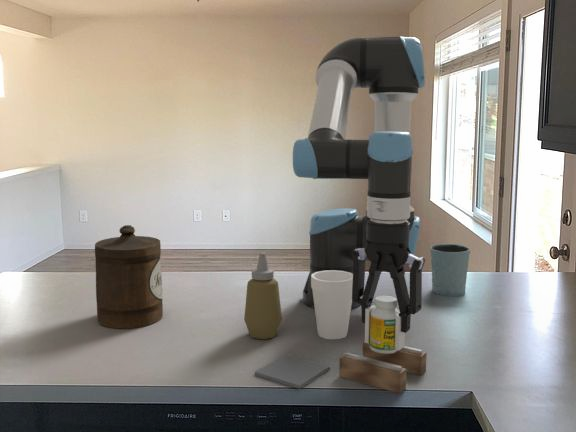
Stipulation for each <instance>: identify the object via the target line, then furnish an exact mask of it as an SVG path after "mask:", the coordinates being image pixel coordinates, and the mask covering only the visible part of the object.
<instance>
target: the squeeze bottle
mask: <svg viewBox="0 0 576 432" xmlns="http://www.w3.org/2000/svg"><path fill="white" fill-rule="evenodd" d="M268 263H269V262H268V259H267V255H266V253H265V252H261V253H259V257H258V261H257V265H256V268H254V269H252V270H251V278H250V279H249V280H248V281H247V286H246V293H245V294H246V295H245V307H244V318H243V319H244V323H245V326H246V328H247V332H248V334H249V336H250V337H251V338H253V339H258V340H259V339H260V340H266V339H272V338H274V337H276V336H277V333H278V330H279V329H280V324H281V323H282V319H283V317H282V316H283V315H282V308H281V307H282V305H281V297H280V288H279V287H280V286H279V282H278V280H276V279H275V278H274V277H275V276H274V274H275V273H274V271H275V270H274V269H272V268H270V267H269V264H268Z"/></svg>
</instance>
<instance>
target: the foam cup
mask: <svg viewBox="0 0 576 432" xmlns="http://www.w3.org/2000/svg"><path fill="white" fill-rule="evenodd" d="M352 284H353V274H352V273H350V272H345V271H337V270H326V271H319V272H315V273H313V274H312V275H311V288H312V291H313V299H314V307H315V308H314V307H313V308H314V314H315V319H316V320H315V322H316V329H317V330H316V331H317V335H318V336H319V337H320V338H322V339H326V340H340V339H344V338H346V337H347V335H348V330H349V324H350V317H351V313H352V312H351V310H352V308H351V305H352Z"/></svg>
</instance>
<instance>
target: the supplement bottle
mask: <svg viewBox="0 0 576 432" xmlns="http://www.w3.org/2000/svg"><path fill="white" fill-rule="evenodd" d="M374 305H375V306H376V307H375V308H374V309H372V311H371V324H370V348H371V350H373V351H375V352H377V353H382V354H391V353H395V352H397V351H398V350H395V326H396V315H397V314H398V313H400V310H399V309H398V307H397V306H398V302H397V297H394V296H392V295H378V296H376V297H375V298H374Z"/></svg>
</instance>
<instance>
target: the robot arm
mask: <svg viewBox="0 0 576 432" xmlns="http://www.w3.org/2000/svg"><path fill="white" fill-rule="evenodd" d="M422 48H423V47H422V44H421V42H420V40H419V39H418V38H416V37H411V36H401V35H400V36H383V37H381V36H379V37H378V36H377V37H353V38H350V39H345V40H344V41H343V42H340V43H338V44H337V45H335V46H334V47H333V48H331V49H330V50H329V51H327V52H326V54H325V55H324V56H323V57H322V59H321V61H320V62H319V64H318V66H317V69H316V74H315V84H316V87H317V90H316V95H315V100H314V104H313V105H314V106H313V110H312V115H311V120H310V125H309V129H308V133H307V137H306V138H303V139H301V138H299V139H297V140H295V142H294V143H293V147H292V148H293V149H292V169H293V173H294V175H295V176H296V177H298V178H304V179H305V178H308V179H313V180H318V179H321V180H322V179H324V180H325V179H327V180H328V179H329V180H331V179H332V180H333V179H335V180H336V179H337V180H338V179H339V180H340V179H342V180H344V179H345V180H346V179H348V180H350V179H351V180H367V197H366V198H367V199H366V201H367V204H366V209H365V213H366V214H364V215H361V214H359V212H358V210H357V209H355V208H346V207H345V208H342V207H341V208H335V209H328V210H322V211H319V212H317V213H315V214H313V215H312V217H311V219H310V225H309V226H310V227H309V232H308V234H309V272H308V275H307V278H306V281H305V285H304V287H303V291H302V302H303V303H304V304H305V305H307V306H309V307H311V308H314V309H315V307H314V299H313V291H312V288H311V275H312V274H313V273H315V272H319V271H326V270H337V271H345V272H350V273H352V274H353V284H352V305H351V309H353V308H356V307H359V306H360V308H361V313H360V315H361V319H360V321H361V323H362V324H364V341H365V343H370V324H371V311H372V309H374V308H375V307H376V306H375V304H373V303H375V300H374V299H375V298H374V297H375V293H376V291H377V287H378V284H379V281H380V277H381V274H382V272H383V271H384V272H386V273H389V275H390V278H391V279H392V283H393V287H394V291H395V292H394V293H395V296H396V297H395V298H397V306H398V310H399V312H400V313H398V314H397V315H396V326H395V350H398V351H399V350H400V349H402V348H403V347H404V346H406V333H407V332H409V331H410V329H411V317H412V315H415V314H417V313H418V312H420V311H421V310H422V306H423V305H422V302H423V301H422V299H423V298H422V295H423V293H422V291H423V289H422V287H423V286H422V285H423V283H422V282H423V280H422V279H423V278H422V277H423V268H424V265H425V264H426V263H425V262H426V259H425V257H424V256H420V257H418V256H416V251H417V247H418V241H419V234H420V233H419V232H420V226H421V218H420V217H419V216H417V215H415V209H414V208H413V206H412V205H411V194H412V193H411V187H412V186H411V185H412V183H411V182H412V169H413V168H412V164H413V152H414V149H413V137H412V134H411V128H412V127H411V126H412V125H411V124H412V120H411V118H412V103H413V101H414V100H415V99H416V98H417V97H418V95H419V89H422V88H425V84H426V83H425V82H426V80H425V79H426V78H425V65H424V64H425V63H424V53H423V49H422ZM355 88H357V89H358V88H360V89H368V97H370V98H371V100H373V102H374V123H373V124H374V127H373V129H374V131H372V132H371V133H370V134H369V137H368V139H346V137H347V130H348V129H347V127H348V121H349V112H350V104H351V95H352V92H353V91H354V90H355ZM366 263H370V265H369V269H368V276H367V278H366V277H365V276H366ZM405 264H408V267H409V268H410V270H409V290H408V285H407V281H406V277H405V275H406V272H405V271H406V270H405V266H404V265H405ZM365 278H366V279H367V280H366V282H365Z"/></svg>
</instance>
